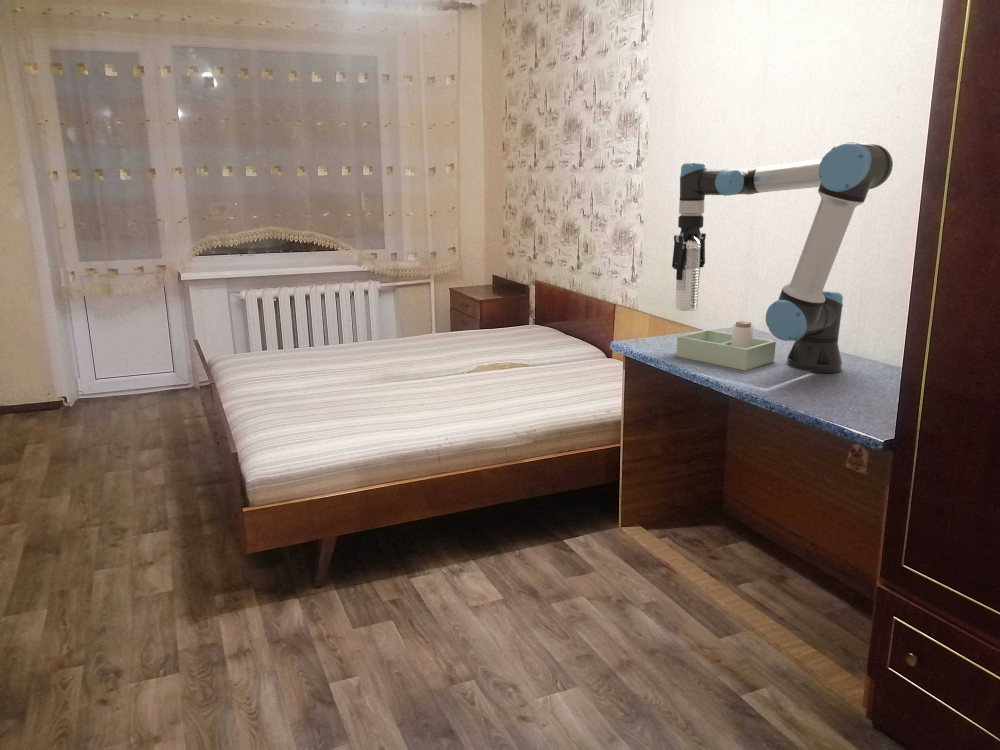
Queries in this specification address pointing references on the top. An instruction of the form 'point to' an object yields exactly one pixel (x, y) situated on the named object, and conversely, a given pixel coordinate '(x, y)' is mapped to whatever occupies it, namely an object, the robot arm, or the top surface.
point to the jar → (742, 334)
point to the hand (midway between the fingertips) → (687, 289)
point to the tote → (724, 350)
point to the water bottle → (690, 278)
